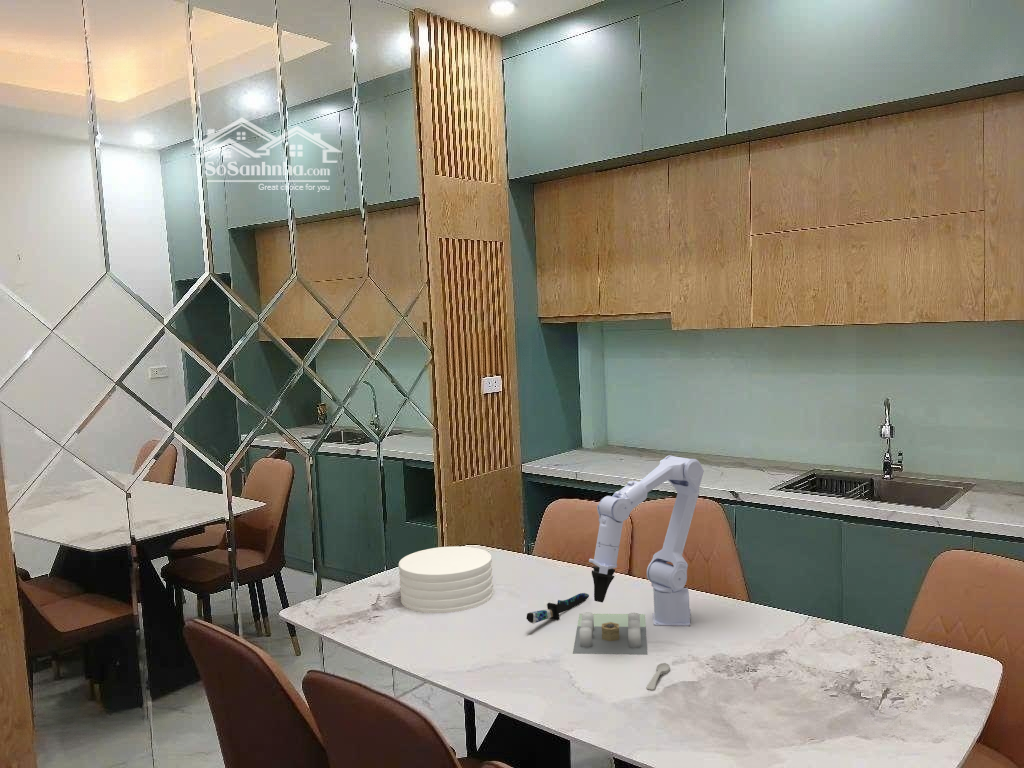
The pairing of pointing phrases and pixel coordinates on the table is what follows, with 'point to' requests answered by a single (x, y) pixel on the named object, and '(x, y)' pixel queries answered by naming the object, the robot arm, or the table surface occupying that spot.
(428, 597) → the plate stack
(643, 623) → the spacer board
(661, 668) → the spoon
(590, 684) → the table surface
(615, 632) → the nut
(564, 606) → the knife
